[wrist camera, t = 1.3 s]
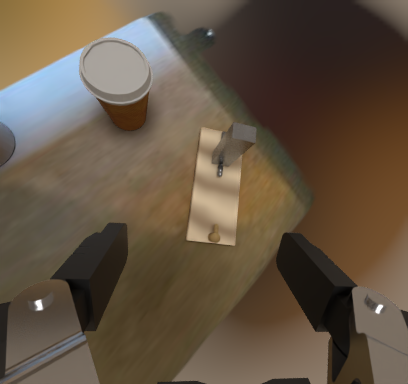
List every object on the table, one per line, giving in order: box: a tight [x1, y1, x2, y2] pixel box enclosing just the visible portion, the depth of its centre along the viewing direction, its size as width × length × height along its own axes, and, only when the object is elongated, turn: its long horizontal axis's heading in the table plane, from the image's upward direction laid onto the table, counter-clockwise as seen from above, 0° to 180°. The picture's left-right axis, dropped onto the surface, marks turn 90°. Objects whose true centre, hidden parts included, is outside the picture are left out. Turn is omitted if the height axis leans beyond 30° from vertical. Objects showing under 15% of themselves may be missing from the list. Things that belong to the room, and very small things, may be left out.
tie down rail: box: [186, 127, 242, 246], centre depth 37 cm, size 22×9×4 cm, turn 173°
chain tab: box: [212, 122, 256, 177], centre depth 33 cm, size 9×4×11 cm, turn 173°
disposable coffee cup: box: [79, 38, 153, 131], centre depth 32 cm, size 10×10×12 cm
